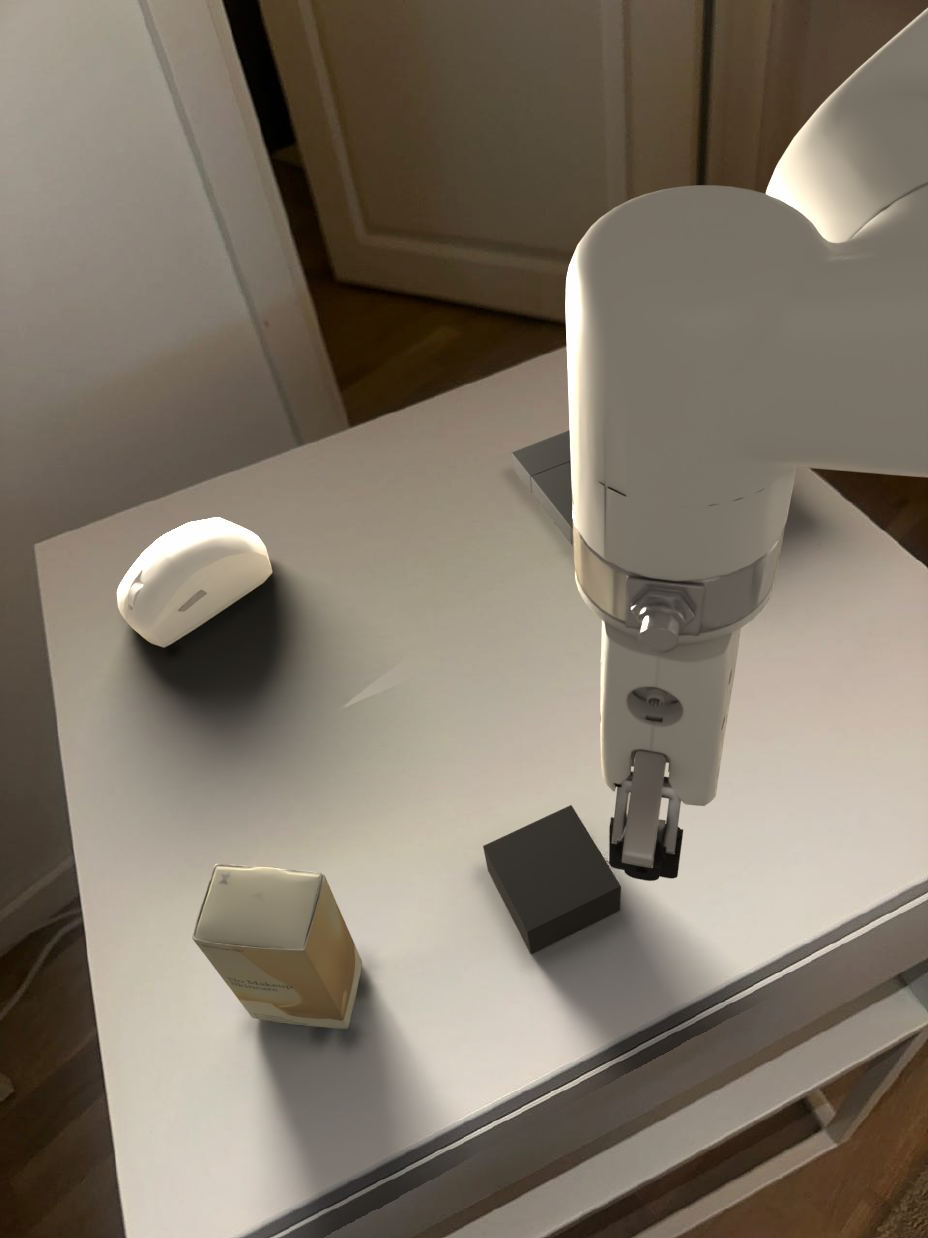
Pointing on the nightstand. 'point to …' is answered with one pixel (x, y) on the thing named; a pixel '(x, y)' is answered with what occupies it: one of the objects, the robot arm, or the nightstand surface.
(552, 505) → the frame pad
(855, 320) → the robot arm
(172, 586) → the computer mouse
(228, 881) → the cosmetic box
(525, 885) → the dark grey square block
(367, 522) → the nightstand surface
